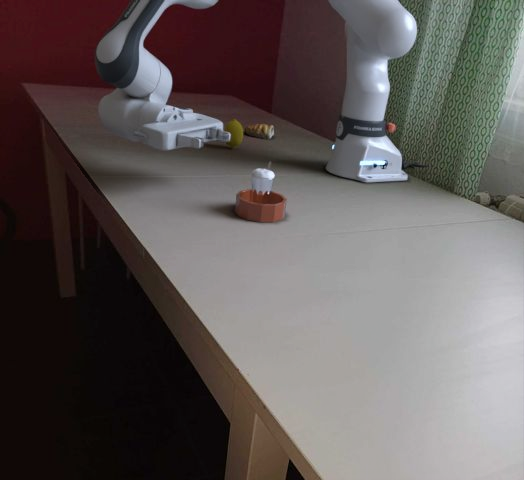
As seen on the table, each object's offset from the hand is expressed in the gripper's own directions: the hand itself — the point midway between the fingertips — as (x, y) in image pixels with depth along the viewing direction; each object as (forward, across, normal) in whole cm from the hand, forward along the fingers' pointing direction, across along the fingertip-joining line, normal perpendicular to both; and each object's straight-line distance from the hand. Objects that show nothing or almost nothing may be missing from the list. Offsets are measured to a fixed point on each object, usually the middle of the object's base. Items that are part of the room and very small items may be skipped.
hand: (215, 140), depth 109 cm
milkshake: (+12, 0, +12) cm, 17 cm away
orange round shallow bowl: (+12, 0, +12) cm, 17 cm away
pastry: (-27, +64, +12) cm, 71 cm away
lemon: (-23, +42, +12) cm, 49 cm away
